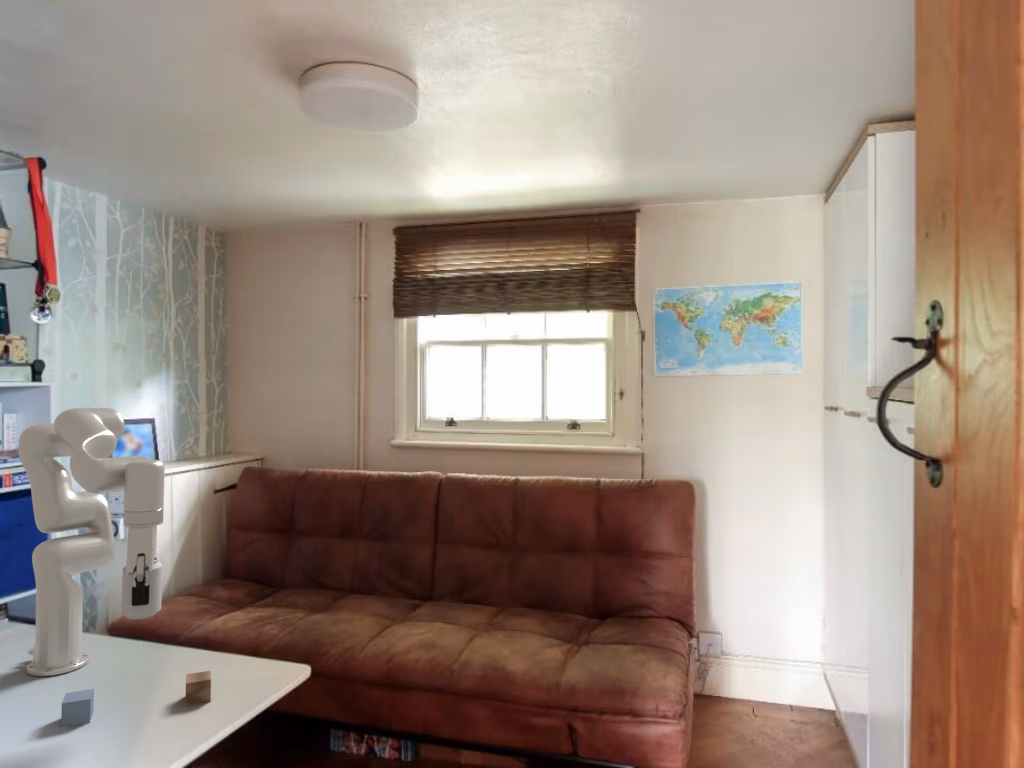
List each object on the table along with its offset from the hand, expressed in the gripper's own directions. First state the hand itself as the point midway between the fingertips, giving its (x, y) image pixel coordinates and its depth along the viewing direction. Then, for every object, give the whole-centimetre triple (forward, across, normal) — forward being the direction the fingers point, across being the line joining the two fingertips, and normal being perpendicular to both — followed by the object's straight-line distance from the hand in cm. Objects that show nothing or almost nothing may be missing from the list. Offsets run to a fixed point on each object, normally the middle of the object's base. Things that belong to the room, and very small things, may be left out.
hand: (141, 598), depth 142 cm
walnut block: (+24, 0, +12) cm, 26 cm away
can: (+4, 0, 0) cm, 4 cm away
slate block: (+24, 0, -11) cm, 26 cm away
